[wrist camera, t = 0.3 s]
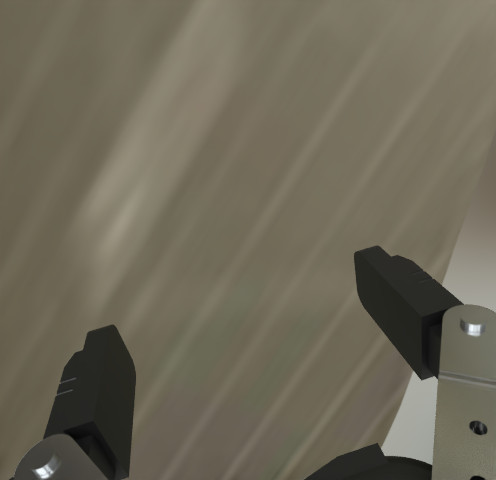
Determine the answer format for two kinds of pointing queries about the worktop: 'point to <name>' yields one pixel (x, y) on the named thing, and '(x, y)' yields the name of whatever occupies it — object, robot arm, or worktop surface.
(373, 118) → the worktop surface
